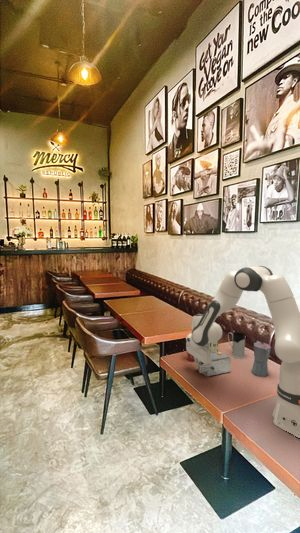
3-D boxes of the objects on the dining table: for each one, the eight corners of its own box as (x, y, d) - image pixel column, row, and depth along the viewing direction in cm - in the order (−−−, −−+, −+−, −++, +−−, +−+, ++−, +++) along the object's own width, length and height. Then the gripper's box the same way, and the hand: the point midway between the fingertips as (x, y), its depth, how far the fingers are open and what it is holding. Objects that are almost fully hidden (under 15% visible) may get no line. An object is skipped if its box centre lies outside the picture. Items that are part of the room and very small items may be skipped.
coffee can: (207, 351, 191) (208, 331, 189) (220, 355, 184) (221, 335, 182) (199, 355, 183) (199, 334, 182) (212, 360, 176) (213, 338, 175)
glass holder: (238, 359, 178) (239, 337, 176) (222, 351, 190) (223, 330, 189) (247, 357, 182) (249, 335, 180) (231, 349, 194) (233, 329, 193)
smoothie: (198, 363, 172) (199, 331, 170) (184, 361, 173) (185, 330, 171) (198, 357, 180) (199, 327, 178) (185, 356, 181) (186, 326, 179)
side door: (231, 372, 159) (232, 359, 159) (201, 379, 151) (201, 365, 150) (229, 370, 161) (229, 357, 160) (199, 377, 152) (199, 363, 152)
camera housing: (228, 371, 161) (229, 355, 160) (204, 376, 154) (205, 360, 153) (220, 365, 168) (220, 350, 168) (196, 370, 161) (197, 354, 160)
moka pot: (259, 380, 152) (261, 345, 150) (244, 367, 167) (246, 335, 165) (274, 378, 154) (277, 344, 152) (258, 366, 169) (260, 334, 167)
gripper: (214, 347, 147) (213, 372, 149) (193, 335, 166) (192, 357, 167) (205, 349, 145) (204, 374, 146) (184, 336, 163) (184, 359, 165)
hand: (197, 365), depth 157 cm, fingers closed
